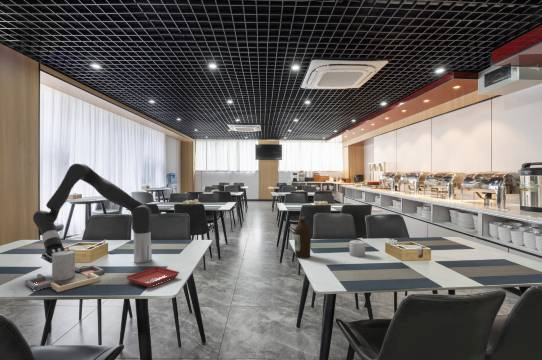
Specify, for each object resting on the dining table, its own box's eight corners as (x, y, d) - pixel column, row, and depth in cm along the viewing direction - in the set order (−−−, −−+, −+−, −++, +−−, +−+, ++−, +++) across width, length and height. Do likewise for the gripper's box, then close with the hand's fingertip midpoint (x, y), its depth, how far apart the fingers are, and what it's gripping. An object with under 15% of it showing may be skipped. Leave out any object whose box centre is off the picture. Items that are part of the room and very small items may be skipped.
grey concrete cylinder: (79, 275, 150) (79, 251, 149) (59, 281, 141) (58, 256, 141) (68, 272, 154) (67, 249, 153) (47, 278, 145) (47, 254, 145)
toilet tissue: (350, 251, 196) (350, 238, 196) (367, 255, 186) (367, 242, 186) (342, 253, 190) (341, 240, 190) (359, 258, 180) (359, 244, 180)
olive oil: (305, 253, 191) (305, 215, 191) (314, 257, 181) (314, 217, 181) (291, 255, 187) (291, 216, 186) (299, 259, 177) (299, 218, 177)
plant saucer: (148, 290, 130) (148, 283, 130) (124, 283, 140) (124, 276, 140) (180, 278, 146) (180, 271, 146) (157, 272, 155) (157, 266, 155)
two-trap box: (21, 281, 141) (21, 277, 141) (88, 266, 164) (88, 263, 164) (41, 296, 123) (41, 291, 123) (113, 277, 147) (112, 273, 147)
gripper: (38, 238, 151) (46, 266, 144) (67, 234, 161) (76, 260, 154) (35, 247, 154) (42, 275, 147) (64, 242, 165) (72, 268, 157)
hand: (60, 267), depth 151 cm, fingers closed
